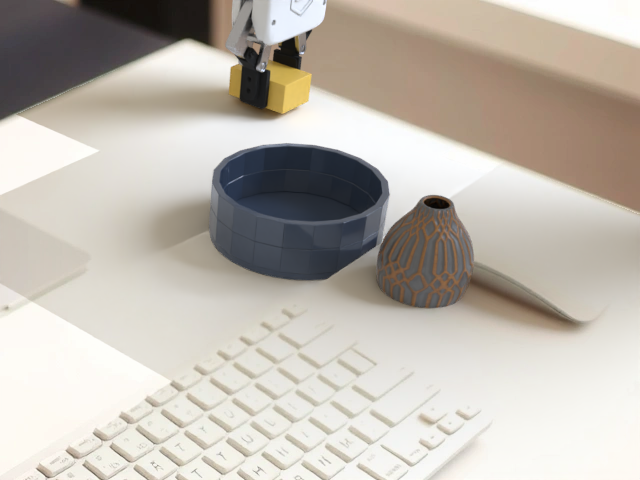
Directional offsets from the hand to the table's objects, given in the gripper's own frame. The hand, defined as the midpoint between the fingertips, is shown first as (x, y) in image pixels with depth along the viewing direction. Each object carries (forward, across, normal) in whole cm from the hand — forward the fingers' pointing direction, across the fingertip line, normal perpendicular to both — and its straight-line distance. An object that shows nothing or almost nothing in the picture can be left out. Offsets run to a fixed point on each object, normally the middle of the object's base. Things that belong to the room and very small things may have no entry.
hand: (268, 95), depth 112 cm
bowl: (+1, -20, -18) cm, 27 cm away
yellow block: (0, 0, 0) cm, 0 cm away
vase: (+1, -22, -31) cm, 38 cm away
